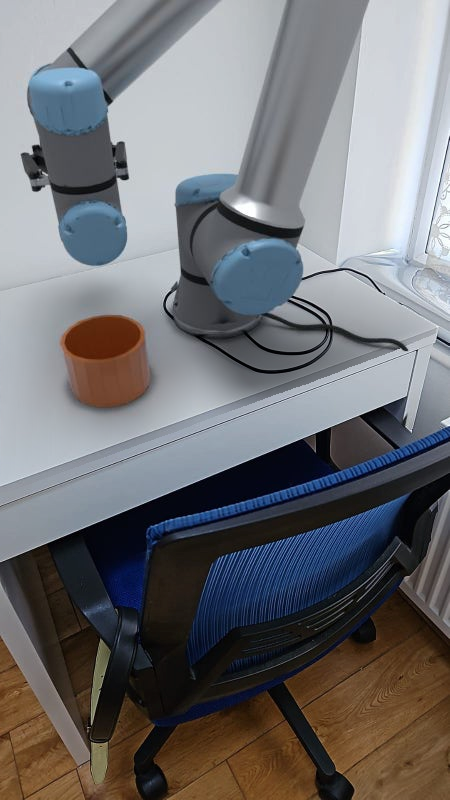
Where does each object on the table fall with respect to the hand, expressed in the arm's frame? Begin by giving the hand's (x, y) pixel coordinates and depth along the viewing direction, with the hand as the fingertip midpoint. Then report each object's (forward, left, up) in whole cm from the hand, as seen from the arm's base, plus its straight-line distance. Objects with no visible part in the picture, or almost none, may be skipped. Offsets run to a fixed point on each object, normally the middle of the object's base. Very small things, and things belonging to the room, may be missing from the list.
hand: (71, 141), depth 93 cm
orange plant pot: (-24, +20, -25) cm, 40 cm away
